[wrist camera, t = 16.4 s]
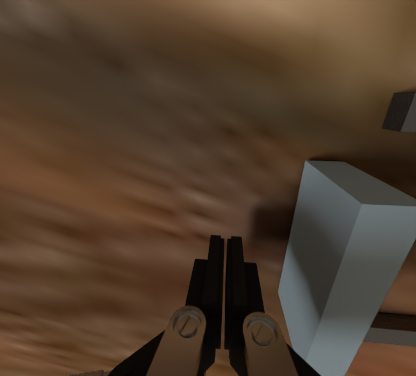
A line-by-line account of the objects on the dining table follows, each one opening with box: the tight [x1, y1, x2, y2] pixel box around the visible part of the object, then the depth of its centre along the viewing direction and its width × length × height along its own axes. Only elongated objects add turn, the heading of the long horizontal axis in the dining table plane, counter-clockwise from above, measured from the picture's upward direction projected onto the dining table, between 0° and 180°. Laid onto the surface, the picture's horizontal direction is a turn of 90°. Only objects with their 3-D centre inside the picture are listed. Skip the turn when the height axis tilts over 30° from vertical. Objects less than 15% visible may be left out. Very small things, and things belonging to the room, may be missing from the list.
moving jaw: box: [278, 161, 416, 376], centre depth 10 cm, size 10×2×5 cm, turn 0°
